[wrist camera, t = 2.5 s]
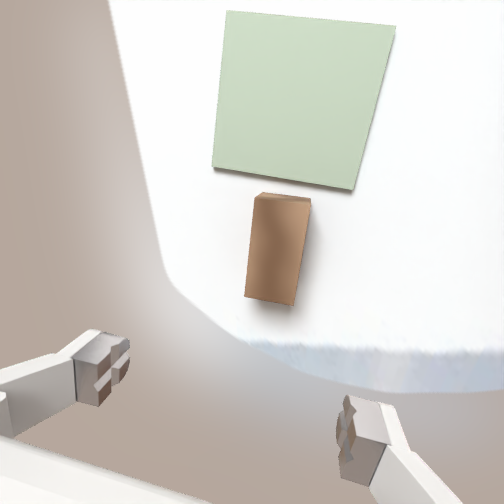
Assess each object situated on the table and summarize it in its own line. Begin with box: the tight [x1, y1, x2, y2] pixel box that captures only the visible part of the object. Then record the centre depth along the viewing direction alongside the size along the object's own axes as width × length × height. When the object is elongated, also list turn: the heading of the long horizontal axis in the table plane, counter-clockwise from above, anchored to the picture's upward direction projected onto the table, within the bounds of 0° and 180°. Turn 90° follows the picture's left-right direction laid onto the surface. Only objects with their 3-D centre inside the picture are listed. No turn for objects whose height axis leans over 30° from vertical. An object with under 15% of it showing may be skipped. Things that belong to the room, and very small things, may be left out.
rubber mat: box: [212, 10, 396, 190], centre depth 24 cm, size 13×12×1 cm
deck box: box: [244, 192, 311, 306], centre depth 26 cm, size 4×9×4 cm, turn 174°
